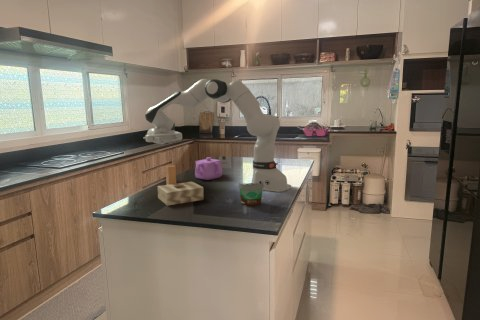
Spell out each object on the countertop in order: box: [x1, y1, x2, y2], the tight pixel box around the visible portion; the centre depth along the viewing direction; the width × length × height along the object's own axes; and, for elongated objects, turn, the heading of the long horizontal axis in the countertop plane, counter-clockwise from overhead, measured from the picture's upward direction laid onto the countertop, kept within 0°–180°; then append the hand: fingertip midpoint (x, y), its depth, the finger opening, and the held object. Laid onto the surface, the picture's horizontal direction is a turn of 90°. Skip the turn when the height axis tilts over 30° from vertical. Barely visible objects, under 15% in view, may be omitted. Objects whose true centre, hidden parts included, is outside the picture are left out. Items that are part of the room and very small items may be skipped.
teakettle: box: [194, 156, 223, 181], centre depth 208 cm, size 17×17×12 cm
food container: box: [237, 181, 264, 207], centre depth 152 cm, size 12×6×10 cm, turn 105°
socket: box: [157, 181, 205, 206], centre depth 162 cm, size 18×14×6 cm
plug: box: [165, 164, 177, 185], centre depth 172 cm, size 4×4×14 cm
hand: (168, 138), depth 180 cm, fingers open, 8 cm apart
